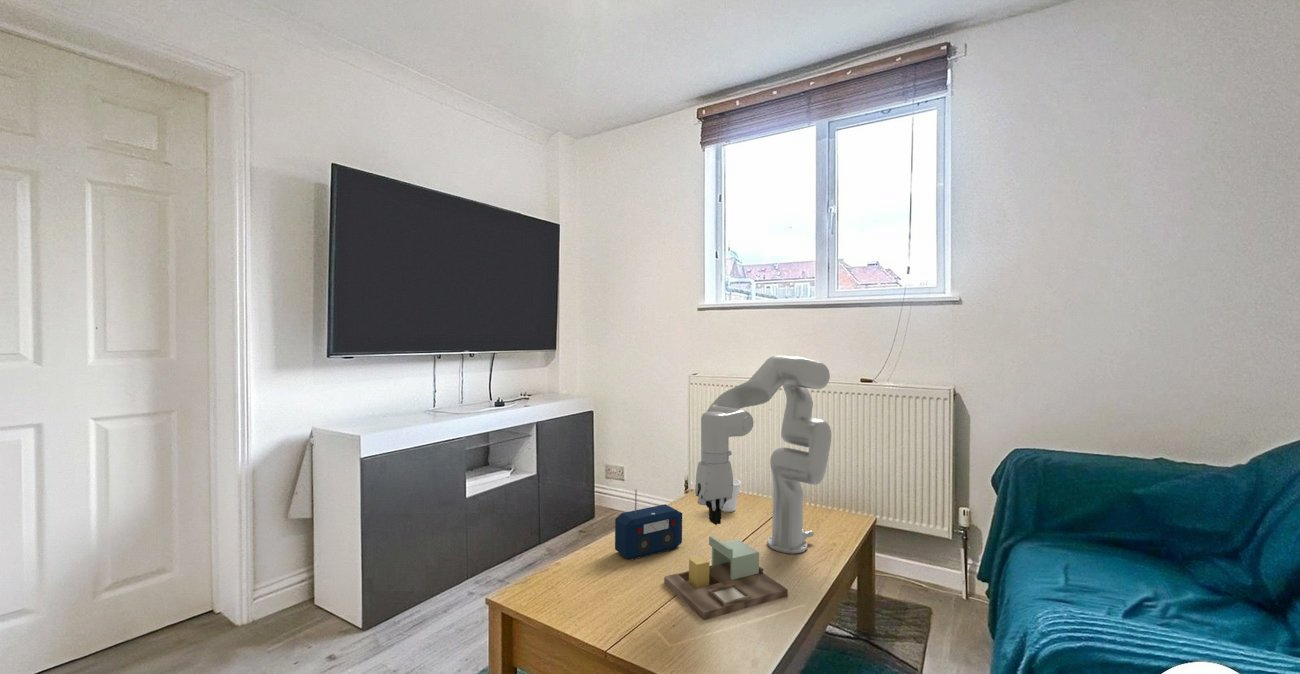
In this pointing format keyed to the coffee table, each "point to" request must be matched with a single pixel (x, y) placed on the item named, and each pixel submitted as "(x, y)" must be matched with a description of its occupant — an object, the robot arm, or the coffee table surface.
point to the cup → (731, 503)
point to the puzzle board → (725, 591)
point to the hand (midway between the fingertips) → (715, 522)
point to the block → (698, 572)
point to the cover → (735, 556)
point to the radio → (648, 531)
